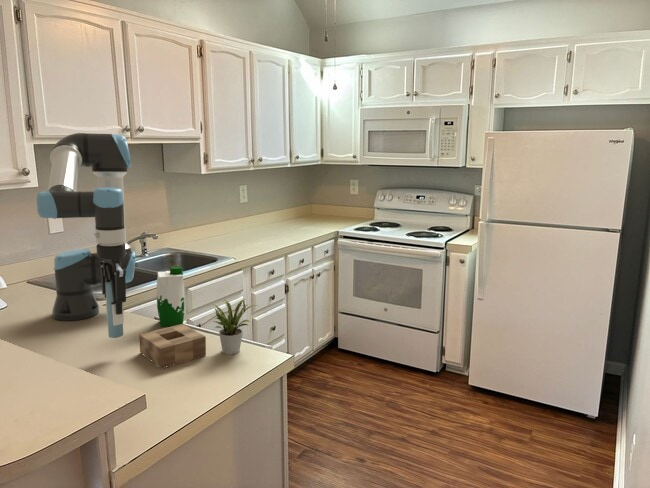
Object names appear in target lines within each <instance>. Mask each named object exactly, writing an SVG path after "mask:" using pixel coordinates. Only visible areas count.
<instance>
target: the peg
mask: <svg viewBox="0 0 650 488" xmlns="http://www.w3.org/2000/svg"><path fill="white" fill-rule="evenodd" d="M105 284H106V298H105V302H106V301H107V310H106V319H107V318H108V321H107V329H108V330H107V332H108V334H107V335H108V337H109V338H111V339H117V338H121V337H123V336H124V324H119V325H115V326H114V325H113V313H112V305H111V302H113V295H112V287H111V281H110V282H106V283H105Z"/></svg>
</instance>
